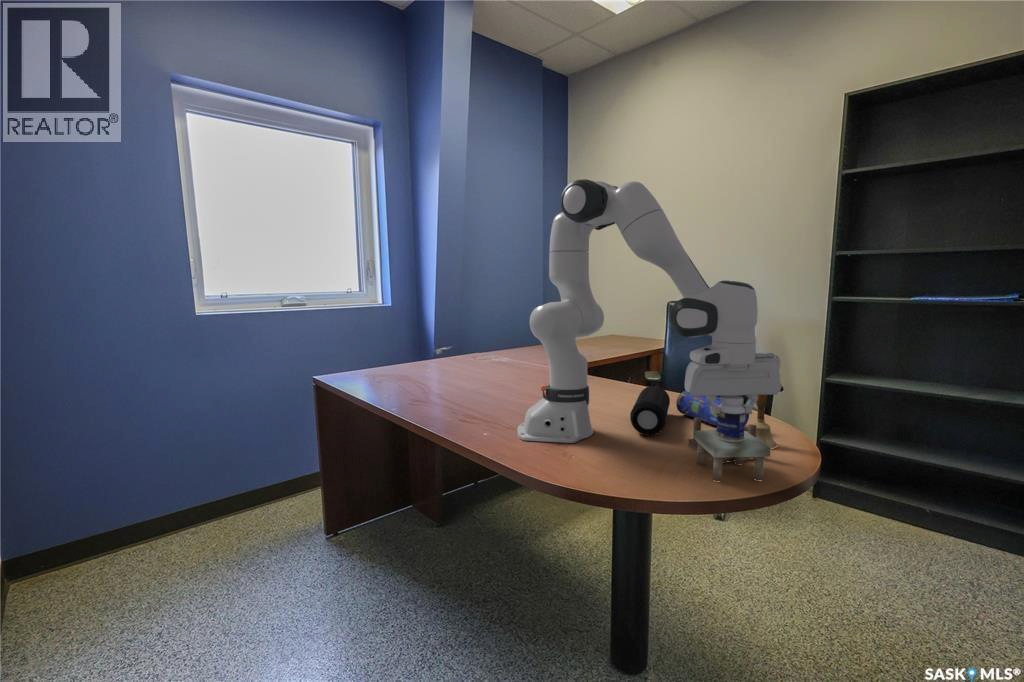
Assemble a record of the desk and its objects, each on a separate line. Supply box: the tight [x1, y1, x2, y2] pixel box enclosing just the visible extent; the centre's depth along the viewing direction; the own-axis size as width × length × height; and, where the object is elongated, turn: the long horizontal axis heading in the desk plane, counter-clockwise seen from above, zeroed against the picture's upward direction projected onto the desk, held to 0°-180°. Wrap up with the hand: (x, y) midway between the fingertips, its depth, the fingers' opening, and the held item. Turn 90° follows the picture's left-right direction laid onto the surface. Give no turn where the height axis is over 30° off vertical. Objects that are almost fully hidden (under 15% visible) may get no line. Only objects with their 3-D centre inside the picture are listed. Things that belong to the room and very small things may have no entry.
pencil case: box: [675, 390, 750, 427], centre depth 138 cm, size 22×9×10 cm, turn 25°
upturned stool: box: [687, 417, 756, 463], centre depth 115 cm, size 12×12×8 cm
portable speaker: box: [629, 385, 671, 436], centre depth 138 cm, size 26×10×10 cm, turn 158°
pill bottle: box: [716, 395, 746, 443], centre depth 102 cm, size 6×6×10 cm
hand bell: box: [751, 395, 778, 448], centre depth 119 cm, size 8×8×16 cm
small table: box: [692, 429, 771, 481], centre depth 104 cm, size 12×12×8 cm
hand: (730, 413), depth 102 cm, fingers closed on pill bottle, 6 cm apart
